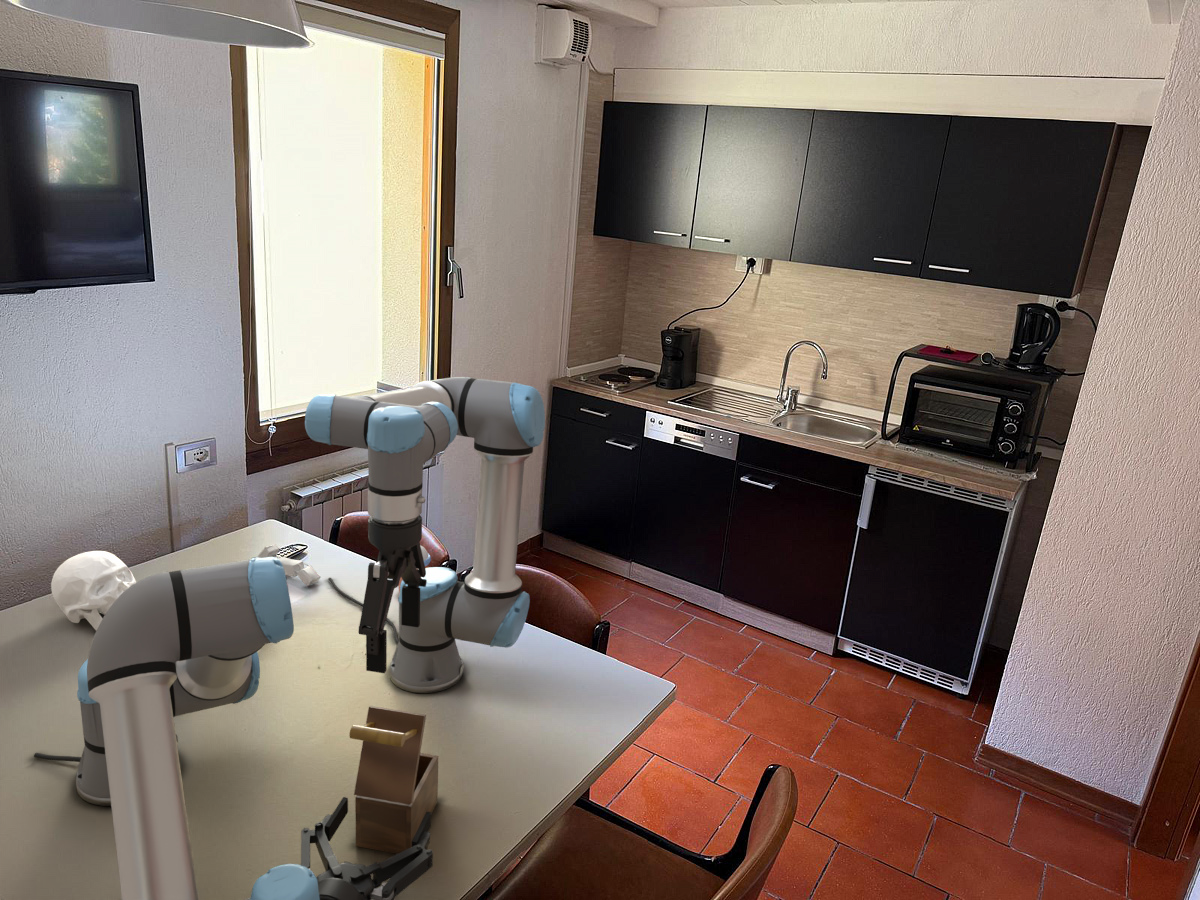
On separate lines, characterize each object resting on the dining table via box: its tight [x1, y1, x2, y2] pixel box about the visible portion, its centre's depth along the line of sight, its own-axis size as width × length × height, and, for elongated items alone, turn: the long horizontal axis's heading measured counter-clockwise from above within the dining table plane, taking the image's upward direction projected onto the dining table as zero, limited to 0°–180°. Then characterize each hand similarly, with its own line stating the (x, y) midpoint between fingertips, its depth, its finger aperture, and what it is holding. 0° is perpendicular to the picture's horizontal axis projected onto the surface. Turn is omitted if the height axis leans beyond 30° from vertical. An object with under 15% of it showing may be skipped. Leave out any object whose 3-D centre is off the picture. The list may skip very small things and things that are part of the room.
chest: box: [354, 752, 439, 855], centre depth 139 cm, size 13×9×9 cm
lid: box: [349, 705, 427, 805], centre depth 128 cm, size 13×9×9 cm
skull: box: [50, 550, 137, 632], centre depth 191 cm, size 13×22×16 cm, turn 73°
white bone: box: [256, 544, 322, 587], centre depth 219 cm, size 20×4×7 cm, turn 62°
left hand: (387, 811), depth 134 cm, fingers open, 13 cm apart
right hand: (394, 647), depth 128 cm, fingers open, 13 cm apart
